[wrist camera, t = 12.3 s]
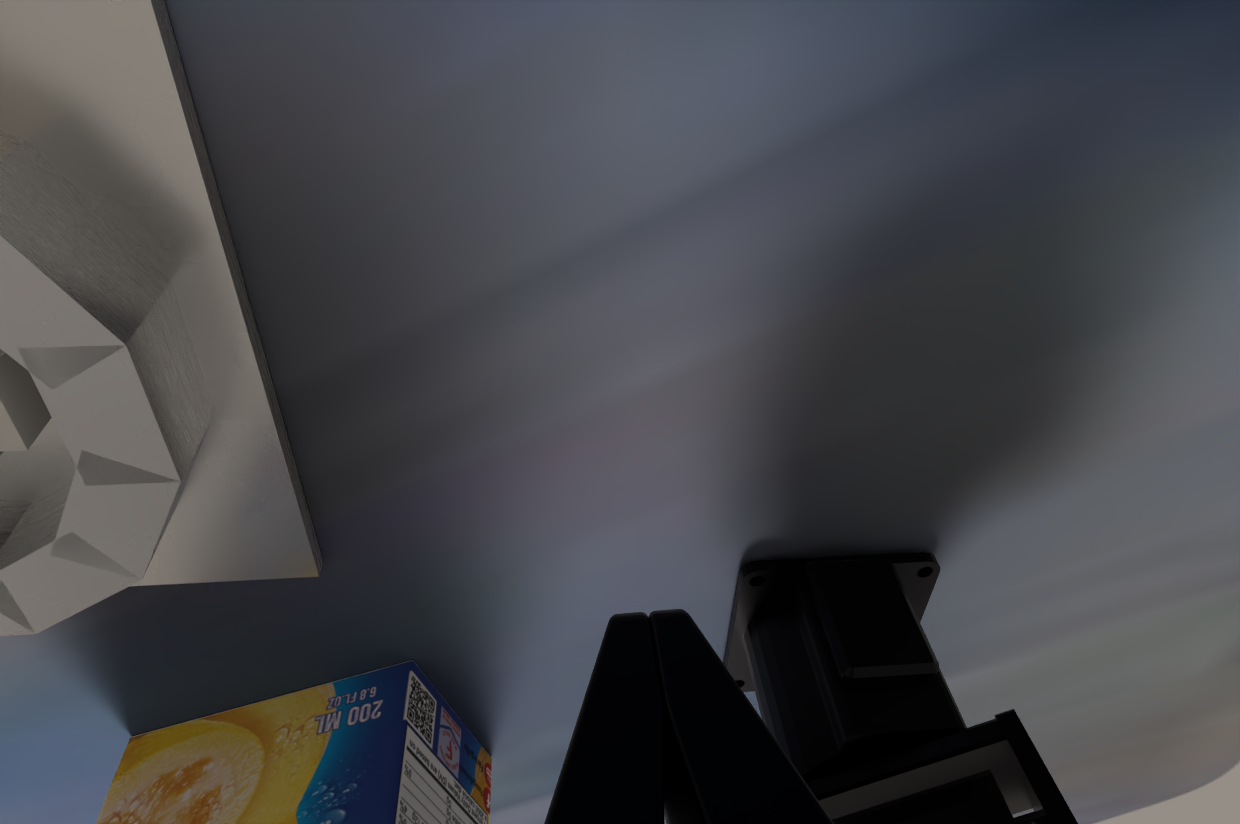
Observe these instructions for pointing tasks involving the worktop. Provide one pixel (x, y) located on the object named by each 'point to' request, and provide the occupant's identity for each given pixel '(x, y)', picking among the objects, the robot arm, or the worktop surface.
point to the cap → (19, 407)
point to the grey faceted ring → (127, 329)
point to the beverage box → (311, 761)
